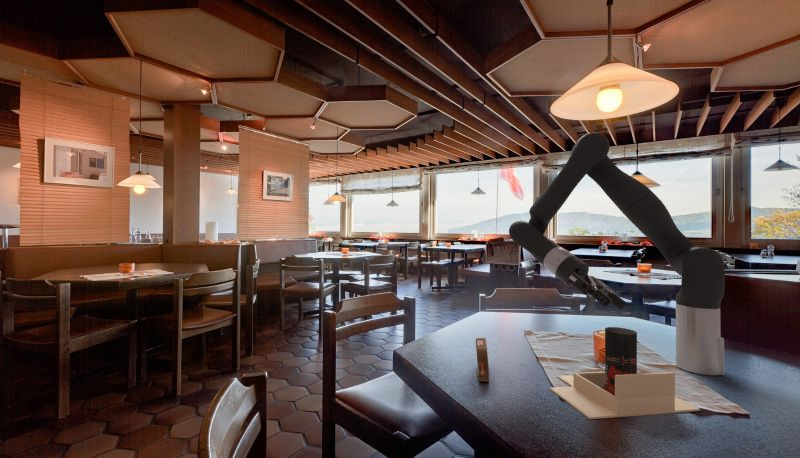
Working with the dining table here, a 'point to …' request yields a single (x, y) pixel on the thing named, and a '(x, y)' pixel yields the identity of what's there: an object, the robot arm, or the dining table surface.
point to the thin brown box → (482, 360)
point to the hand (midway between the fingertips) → (617, 305)
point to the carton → (622, 395)
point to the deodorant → (619, 355)
